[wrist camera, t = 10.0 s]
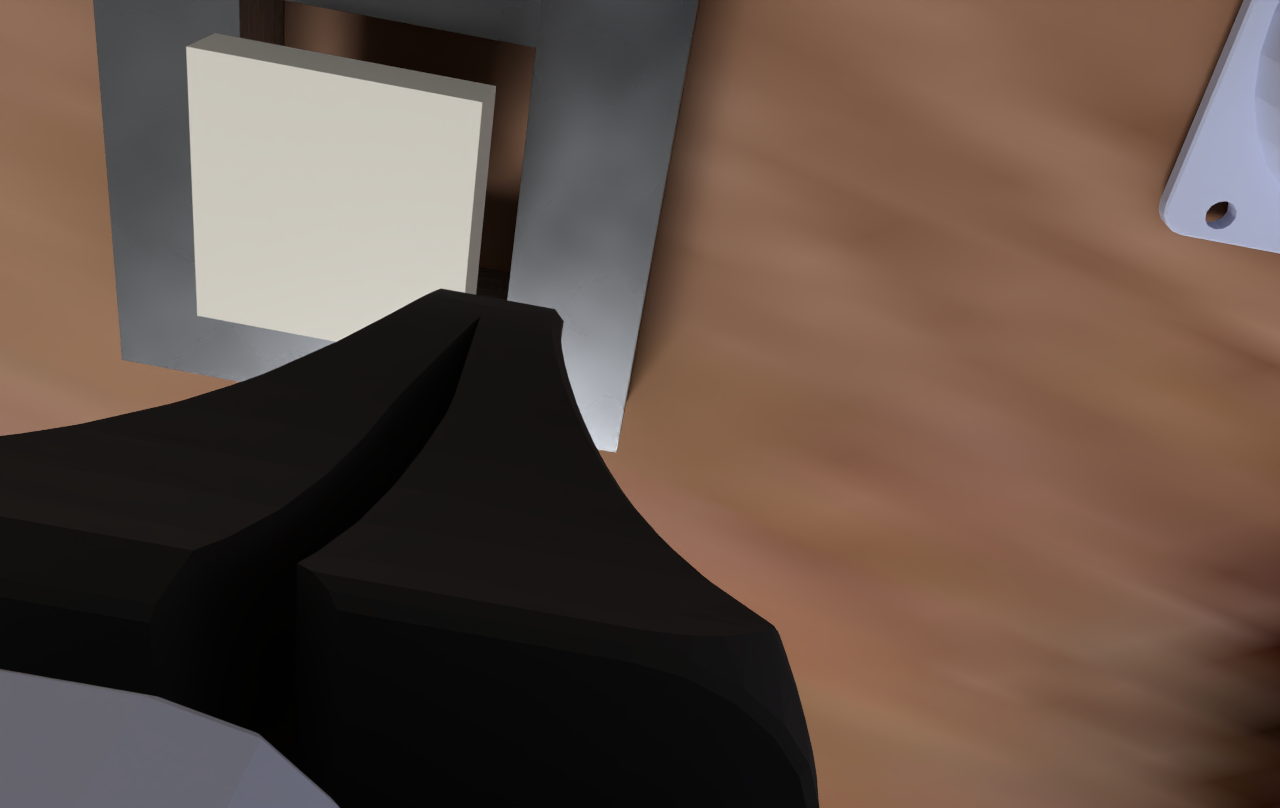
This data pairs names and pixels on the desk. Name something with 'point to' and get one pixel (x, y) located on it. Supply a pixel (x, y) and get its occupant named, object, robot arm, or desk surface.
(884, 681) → the desk surface
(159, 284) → the panel
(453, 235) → the off-white block
